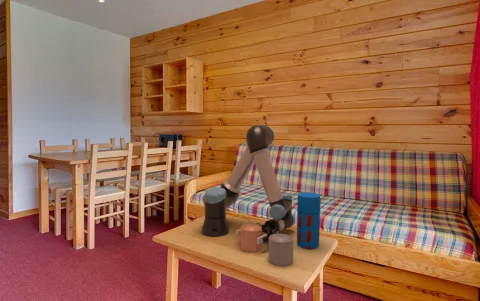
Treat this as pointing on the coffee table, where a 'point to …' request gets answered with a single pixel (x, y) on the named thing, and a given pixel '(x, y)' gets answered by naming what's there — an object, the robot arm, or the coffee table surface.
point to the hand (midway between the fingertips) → (246, 237)
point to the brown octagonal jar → (280, 249)
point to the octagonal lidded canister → (250, 237)
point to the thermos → (308, 220)
